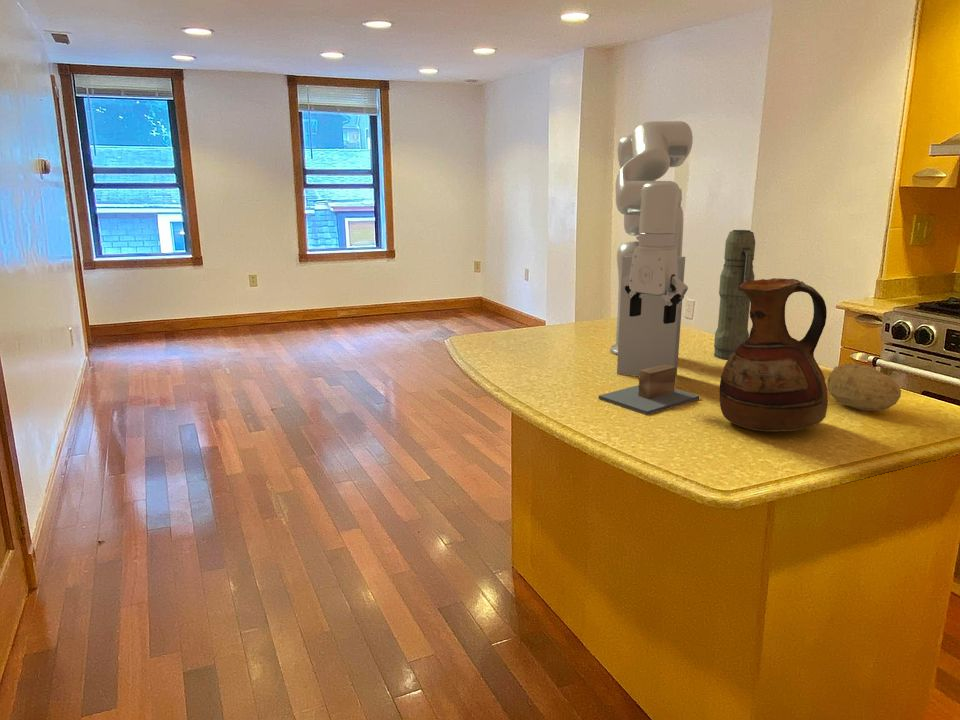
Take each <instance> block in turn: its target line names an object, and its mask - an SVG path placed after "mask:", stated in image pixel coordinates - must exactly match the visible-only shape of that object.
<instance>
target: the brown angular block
mask: <svg viewBox="0 0 960 720" xmlns="http://www.w3.org/2000/svg"><path fill="white" fill-rule="evenodd" d="M676 376H677V375H676V367H675V366H671V365H667V364H665V365H660V366H656V367H652V368H648V369H644V370H640V375H639V376H638V385H639V392H638V396H640V397H643V398H646V399H651V398H655V397H658V396H662V395H665V394H669V393H673V392H674V391H675V389H676V388H675V387H676Z"/></svg>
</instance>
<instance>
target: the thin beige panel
mask: <svg viewBox="0 0 960 720" xmlns="http://www.w3.org/2000/svg"><path fill="white" fill-rule="evenodd" d="M632 258H633V255H631V254H628V256H623V260H622V280H621V301H620V321H619V341H618V355H617V362H616V363H617V365H616V366H617V368H616V374H617V375H623V376H624V375H625V376H634V377H639V375H640V370H644V369H648V368H652V367H656V366H660V365H665V364H667V365H671V366H675V367H676V376H677V375H678V365H679V350H680V338H681V337H680V336H681V323H682V322H681V321H682V308H683V299H682V300H681V301H680V302H679V304H678V305H676V318H675V322H674V323H669V324H664V323H663V317H664V306H665V305H667V303H666V302H665V300H664V298H663V296H654V295H648V294H641V296H640V297H639V298H642V305H641V315H639V316H634V317H631V316H629V311H630V299H629V298H628V294H627V292H626V290H625V286H624V283H623V277H625V276H627V275H629V274H630V271H631V264H632ZM677 263H678V279H679V280H680V281H682V282H683V283H684V284H685V282H684V279H685V271H686V270H685V266H686V256H682V257H679V256H677ZM677 291H678V289H676V292H675V294H677ZM670 298H671V297H670Z"/></svg>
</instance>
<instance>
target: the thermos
mask: <svg viewBox="0 0 960 720" xmlns="http://www.w3.org/2000/svg"><path fill="white" fill-rule="evenodd" d="M755 251H756V238H755V233H754V232H753V231H751V230H749V229H733V230H732V231H729V232H728V235H727V237H726V240H725V245H724V255H723V257H724V264H723V269H722V270H721V272H720V277H719V287H718V288H719V289H718V294H719V295H718V296H719V306H718V307H719V308H718V310H719V311H718V318H717V319H718V321H717V328H716V331H715V333H714V340H713V341H714V345H713V347H714V353H713V356H714V358H717V359H720V360H726V361H727V360H728V359H729V357H730V356H731V354H732V353H733V352H734V351H735V350H736V349H737V348H738V346H739V345H740V344H742V343H743V342H745V341H746V340H747V339H748V338H749V335H750V332H749V329H748V327H749V320H750V319H749V317H750V305H751V302H750V299H749V298H748V296H747V295H746V294H745V293H744V292H743V291H742V290H741V289H740V288H739V285H740V284H741V283H743V282H748V281H752V280H755V277H756V276H755V273H754V260H755Z"/></svg>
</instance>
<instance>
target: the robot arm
mask: <svg viewBox="0 0 960 720" xmlns="http://www.w3.org/2000/svg"><path fill="white" fill-rule="evenodd" d="M693 139H694V137H693V131H692V128H691V127H690V125H689V123H687V122H685V121H682V120H681V121H680V120H679V121H678V120H676V121H675V120H673V121H670V120H669V121H668V120H667V121H666V120H665V121H663V120H662V121H646V122H645V121H644V122H642V123H640V124H638V125H637V126H636V128H634V130H633V132H632V134H629V135H625V136H623V137H622V138H621V139H619V140H618V144H617V160H618V166H619V170H618V173H617V175H616V179H615V188H614V189H615V190H614V191H615V205H616V209H617V211H618V212H619V213H620V214H622V215H623V227H624V231H625V233H626V234H627V235H629V236H632V237H636V238H635V239H636V240H634V241H633V240H632V241H627V242H624V243H622V244H621V245H620V246H619V247H618V249H617V253H616V262H617V264H616V265H617V272H618V275H617V276H618V294H617V315H616V316H617V317H616V333H615V334H616V336H615V344H612V345H611V346H610V347H609V348H610V349H609V351H610V353H613V354H615V355H617V356H618V341H619V321H620V301H621V280H622V260H623V256H628V254H631V255H633V258H632V264H631V271H630V274H629V275H627V276H625V277H623V283H624V286H625V290H626V292H627V294H628V298H629V299H630V311H629V316H631V317H634V316H639V315H641V305H642V298H639V297H640V296H641V294H648V295H654V296H663V298H664V300H665V302H666V303H667V305H665V306H664V317H663V323H664V324H669V323H674V322H675V318H676V305H678V304H679V302H680V301H681V300H682V301H683V300H684V299H685V295H686V294H687V292H688V289H689V287H688V285H686V283H685V282H684V283H683V282H682V281H680V280H679V279H678V263H677V256H679V257H683V255H682V254H683V239H684V238H683V237H684V236H683V235H684V212H683V211H684V210H683V207H682V206H681V205H682V202H683V201H682V200H683V195H682V194H683V193H682V189H681V188H680V186H679V184H677V183H676V182H675V181H671V180H659V179H661V178H662V177H663V176H664V175H665V174H666V173H667V172H668V170H669V168H679V167H681V165H683V164H684V162H685V161H686V160H687V158H688V157H689V155H690V153H691V151H692V148H693V142H694V141H693ZM676 289H678V291H677V294H675V292H676ZM670 297H671V298H670Z"/></svg>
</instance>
